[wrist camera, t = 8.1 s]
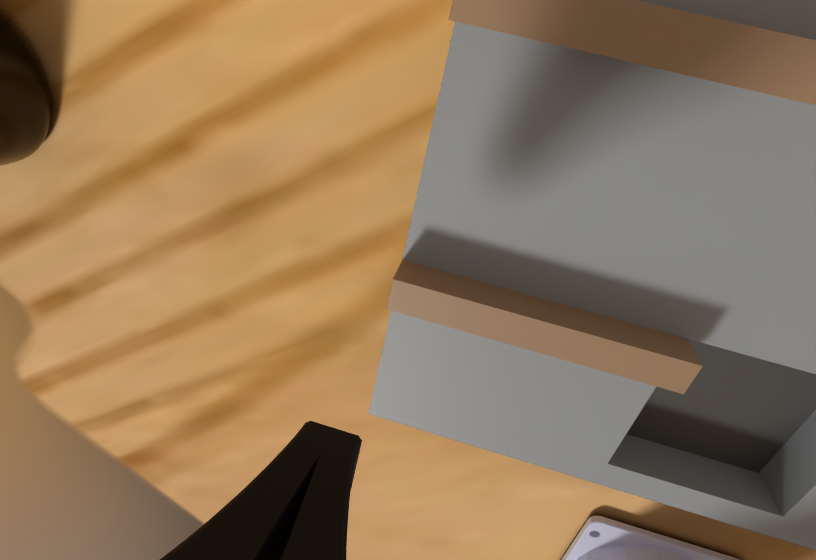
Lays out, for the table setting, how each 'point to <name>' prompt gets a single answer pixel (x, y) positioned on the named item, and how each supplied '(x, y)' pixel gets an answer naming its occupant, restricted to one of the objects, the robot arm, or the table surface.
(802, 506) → the board
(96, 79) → the table surface
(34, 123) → the supplement bottle
